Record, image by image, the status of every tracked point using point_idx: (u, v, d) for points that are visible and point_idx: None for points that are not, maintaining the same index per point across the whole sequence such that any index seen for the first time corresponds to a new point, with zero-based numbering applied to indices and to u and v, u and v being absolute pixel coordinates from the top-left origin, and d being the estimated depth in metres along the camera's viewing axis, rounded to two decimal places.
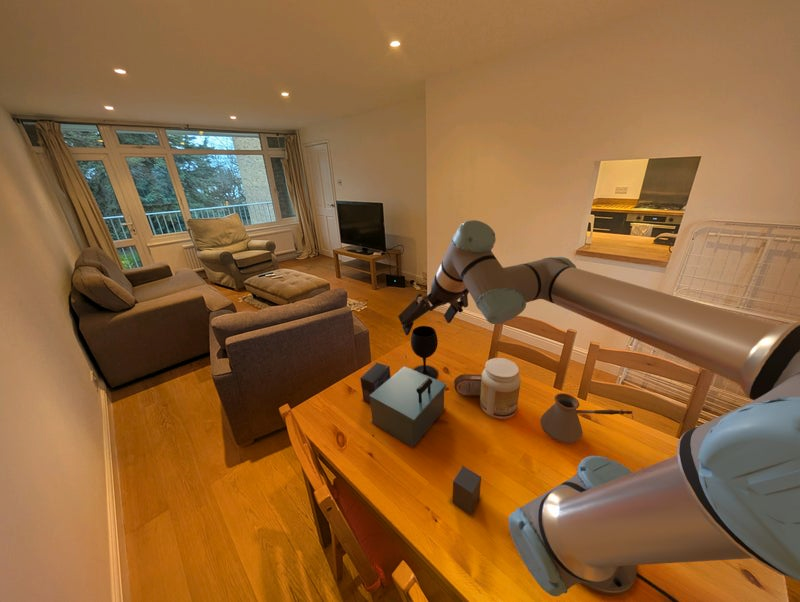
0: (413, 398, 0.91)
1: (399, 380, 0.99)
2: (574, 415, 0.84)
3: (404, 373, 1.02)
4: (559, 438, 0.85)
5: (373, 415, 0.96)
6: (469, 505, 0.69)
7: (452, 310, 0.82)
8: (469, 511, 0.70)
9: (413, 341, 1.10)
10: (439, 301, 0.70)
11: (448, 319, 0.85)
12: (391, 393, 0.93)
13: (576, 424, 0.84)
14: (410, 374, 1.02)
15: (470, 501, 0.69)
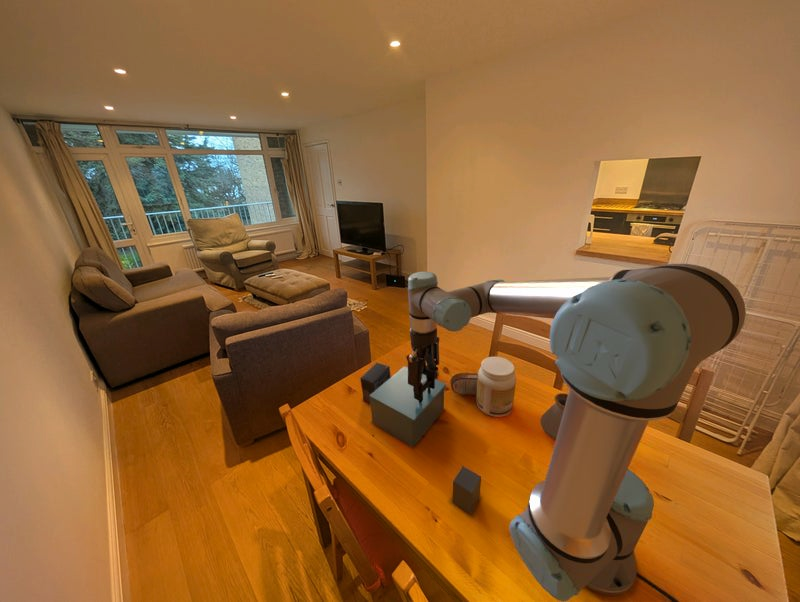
0: (413, 398, 0.91)
1: (399, 380, 0.99)
2: None
3: (404, 373, 1.02)
4: None
5: (373, 415, 0.96)
6: (469, 505, 0.69)
7: (430, 373, 0.90)
8: (469, 511, 0.70)
9: None
10: (424, 351, 0.81)
11: (432, 384, 0.91)
12: (391, 393, 0.93)
13: None
14: None
15: (470, 501, 0.69)
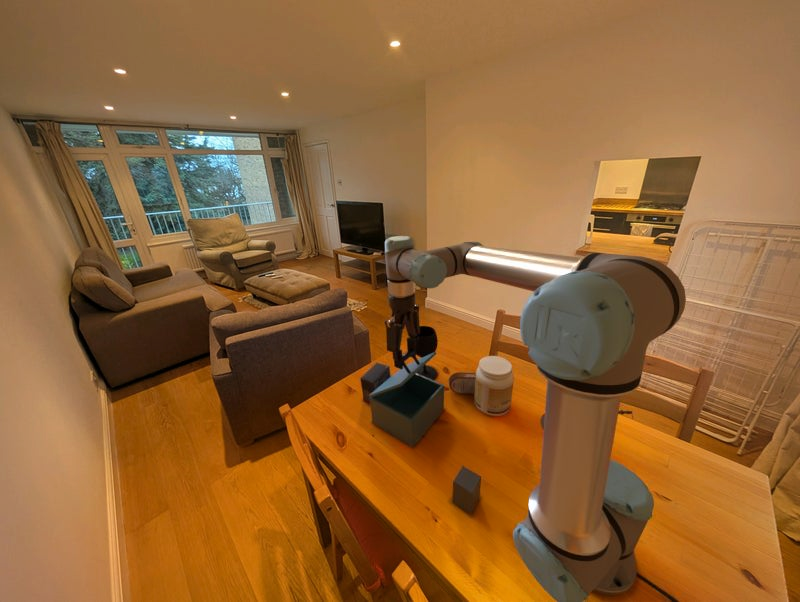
0: (404, 374, 0.89)
1: (396, 374, 0.99)
2: None
3: None
4: None
5: (373, 415, 0.96)
6: (469, 505, 0.69)
7: (411, 342, 0.90)
8: (469, 511, 0.70)
9: None
10: (402, 316, 0.82)
11: None
12: (387, 383, 0.93)
13: None
14: (407, 366, 1.01)
15: (470, 501, 0.69)
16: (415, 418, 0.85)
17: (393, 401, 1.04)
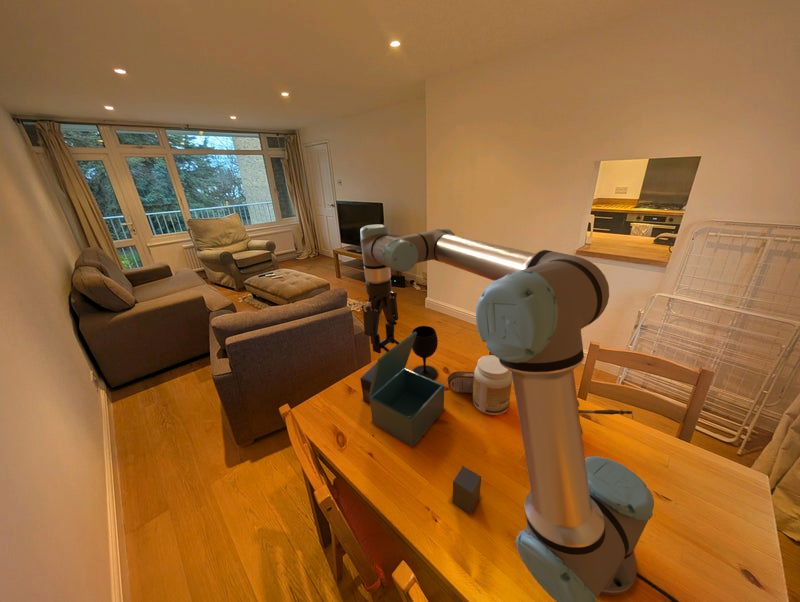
0: None
1: None
2: None
3: None
4: None
5: (373, 415, 0.96)
6: (469, 505, 0.69)
7: (389, 328, 0.94)
8: (469, 511, 0.70)
9: None
10: (379, 302, 0.86)
11: None
12: None
13: None
14: None
15: (470, 501, 0.69)
16: (415, 418, 0.85)
17: (393, 401, 1.04)
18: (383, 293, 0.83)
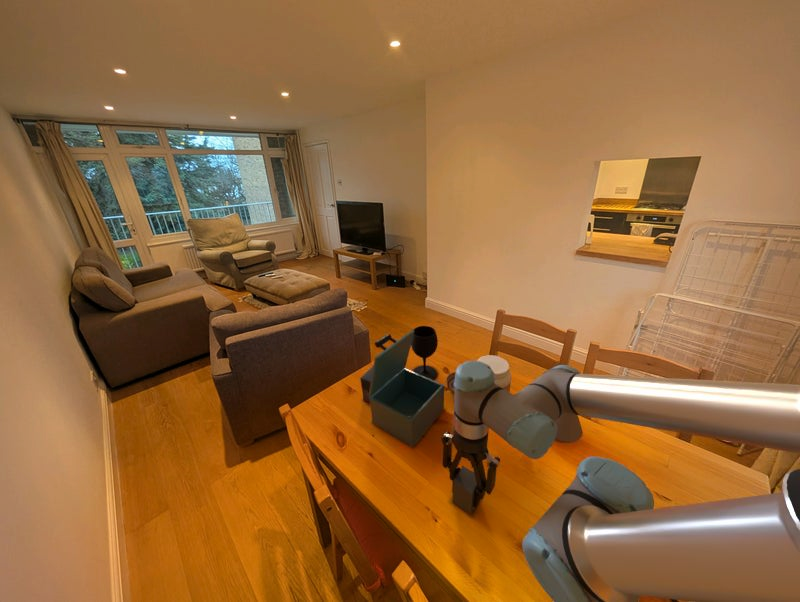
0: None
1: None
2: (574, 415, 0.84)
3: None
4: (559, 438, 0.85)
5: (373, 415, 0.96)
6: (469, 505, 0.69)
7: None
8: (469, 511, 0.70)
9: (413, 341, 1.10)
10: (459, 447, 0.66)
11: None
12: None
13: (576, 424, 0.84)
14: None
15: (470, 501, 0.69)
16: (415, 418, 0.85)
17: (393, 401, 1.04)
18: (455, 443, 0.63)
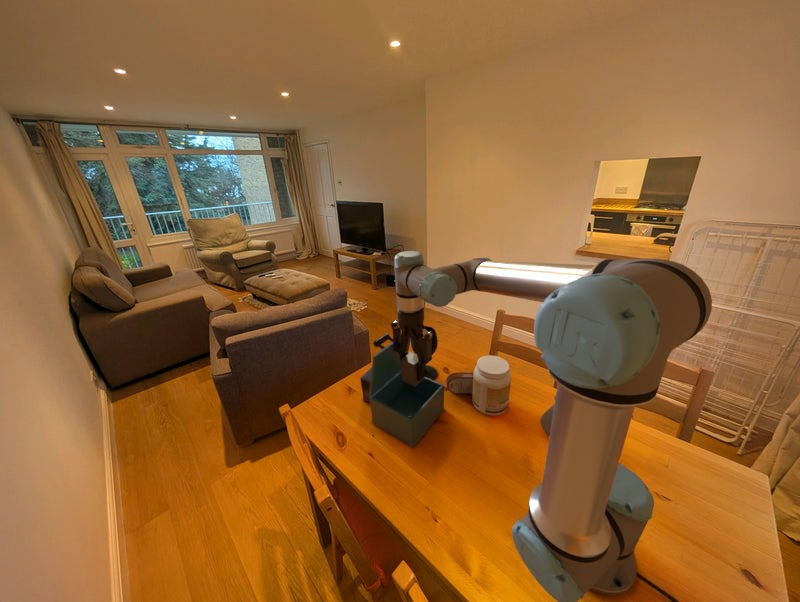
0: None
1: None
2: None
3: None
4: None
5: (373, 415, 0.96)
6: (413, 378, 0.87)
7: None
8: (413, 383, 0.88)
9: None
10: None
11: None
12: None
13: None
14: None
15: (413, 373, 0.86)
16: (415, 418, 0.85)
17: (393, 401, 1.04)
18: (398, 320, 0.81)
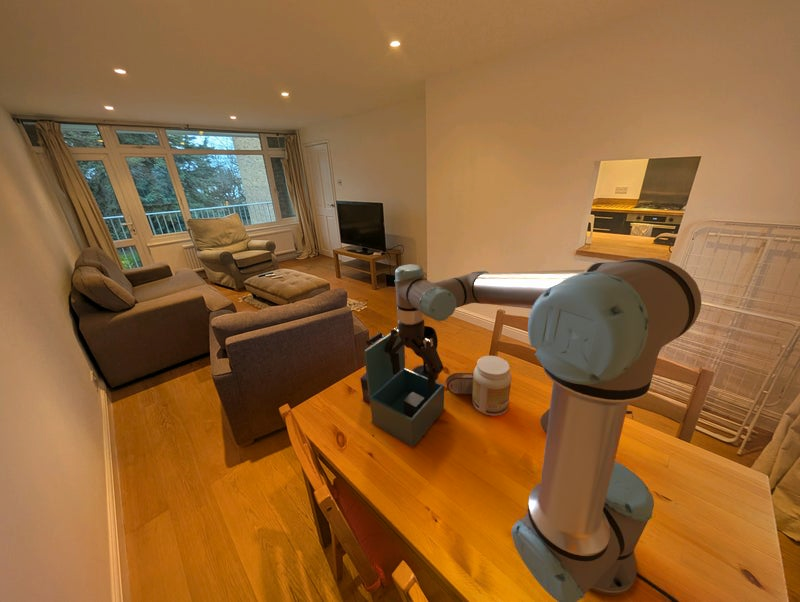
0: None
1: None
2: None
3: None
4: None
5: (373, 415, 0.96)
6: None
7: None
8: None
9: None
10: (404, 338, 0.85)
11: None
12: None
13: None
14: None
15: None
16: (415, 418, 0.85)
17: (393, 401, 1.04)
18: (399, 332, 0.83)
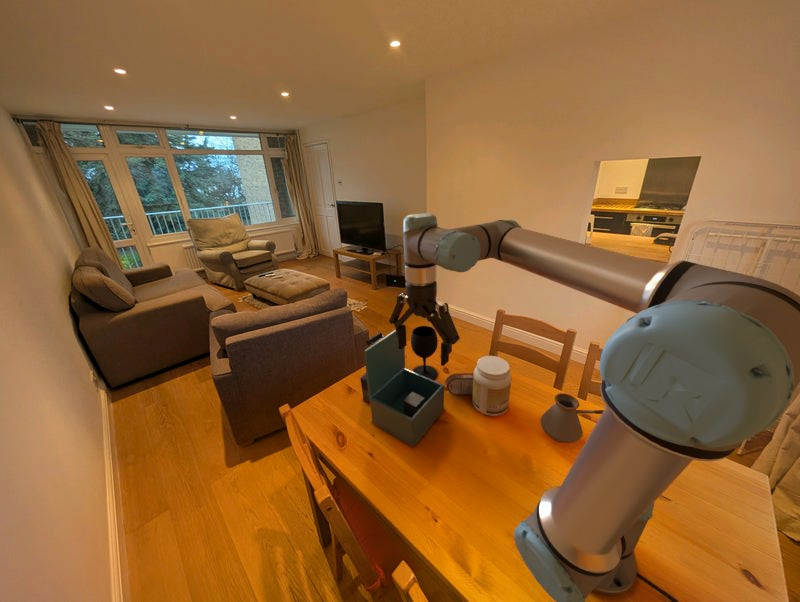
0: None
1: None
2: (574, 415, 0.84)
3: None
4: (559, 438, 0.85)
5: (373, 415, 0.96)
6: None
7: None
8: None
9: (413, 341, 1.10)
10: (412, 304, 0.73)
11: None
12: None
13: (576, 424, 0.84)
14: None
15: None
16: (415, 418, 0.85)
17: (393, 401, 1.04)
18: (407, 295, 0.70)
